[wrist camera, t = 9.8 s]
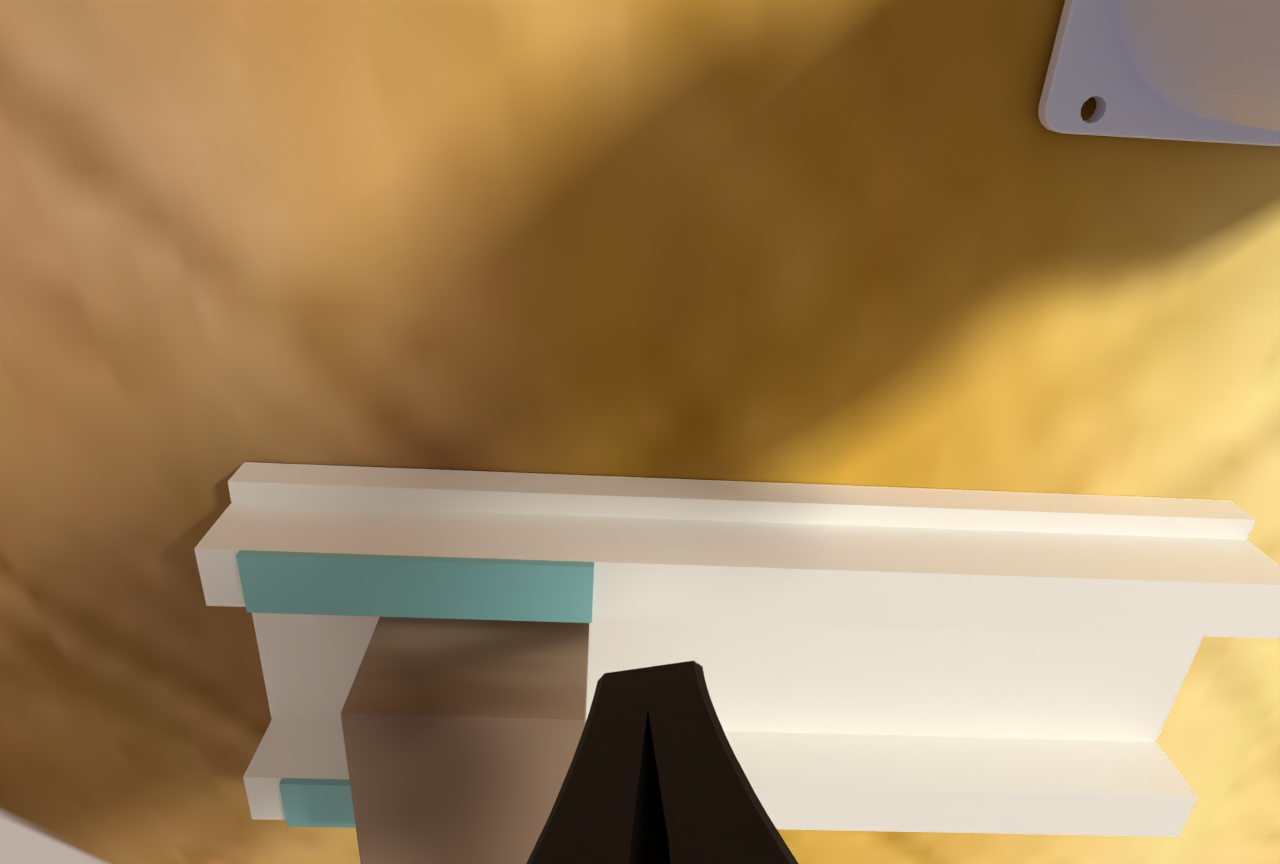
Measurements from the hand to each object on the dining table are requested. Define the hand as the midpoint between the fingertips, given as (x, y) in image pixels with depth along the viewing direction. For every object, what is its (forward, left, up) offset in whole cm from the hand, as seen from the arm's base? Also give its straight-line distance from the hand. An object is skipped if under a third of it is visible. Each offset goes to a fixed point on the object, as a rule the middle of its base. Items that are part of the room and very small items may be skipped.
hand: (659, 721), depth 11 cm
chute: (-3, +7, -10) cm, 13 cm away
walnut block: (+4, +7, -9) cm, 12 cm away
